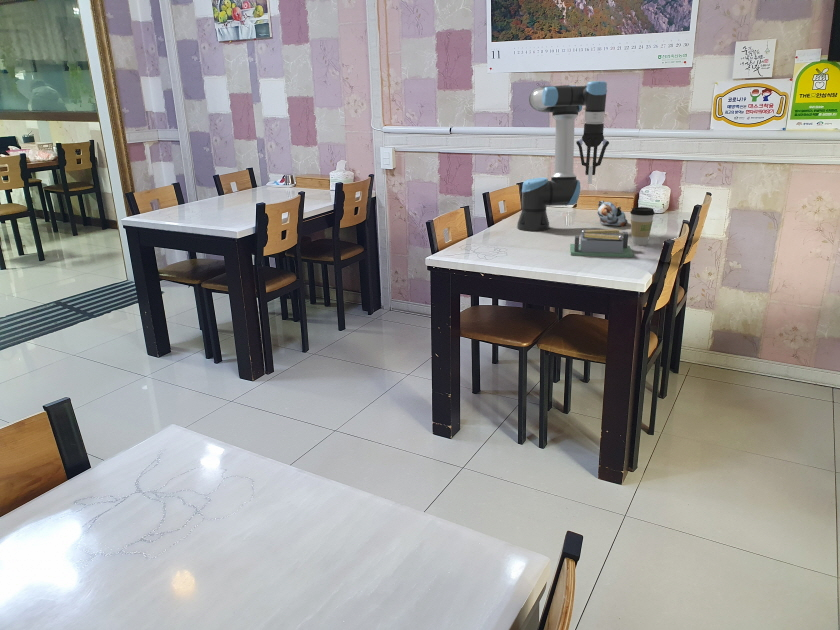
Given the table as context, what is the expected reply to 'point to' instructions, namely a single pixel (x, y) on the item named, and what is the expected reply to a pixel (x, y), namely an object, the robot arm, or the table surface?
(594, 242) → the heatsink module
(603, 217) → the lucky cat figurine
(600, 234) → the strap
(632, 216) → the coffee cup
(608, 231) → the rear strap
